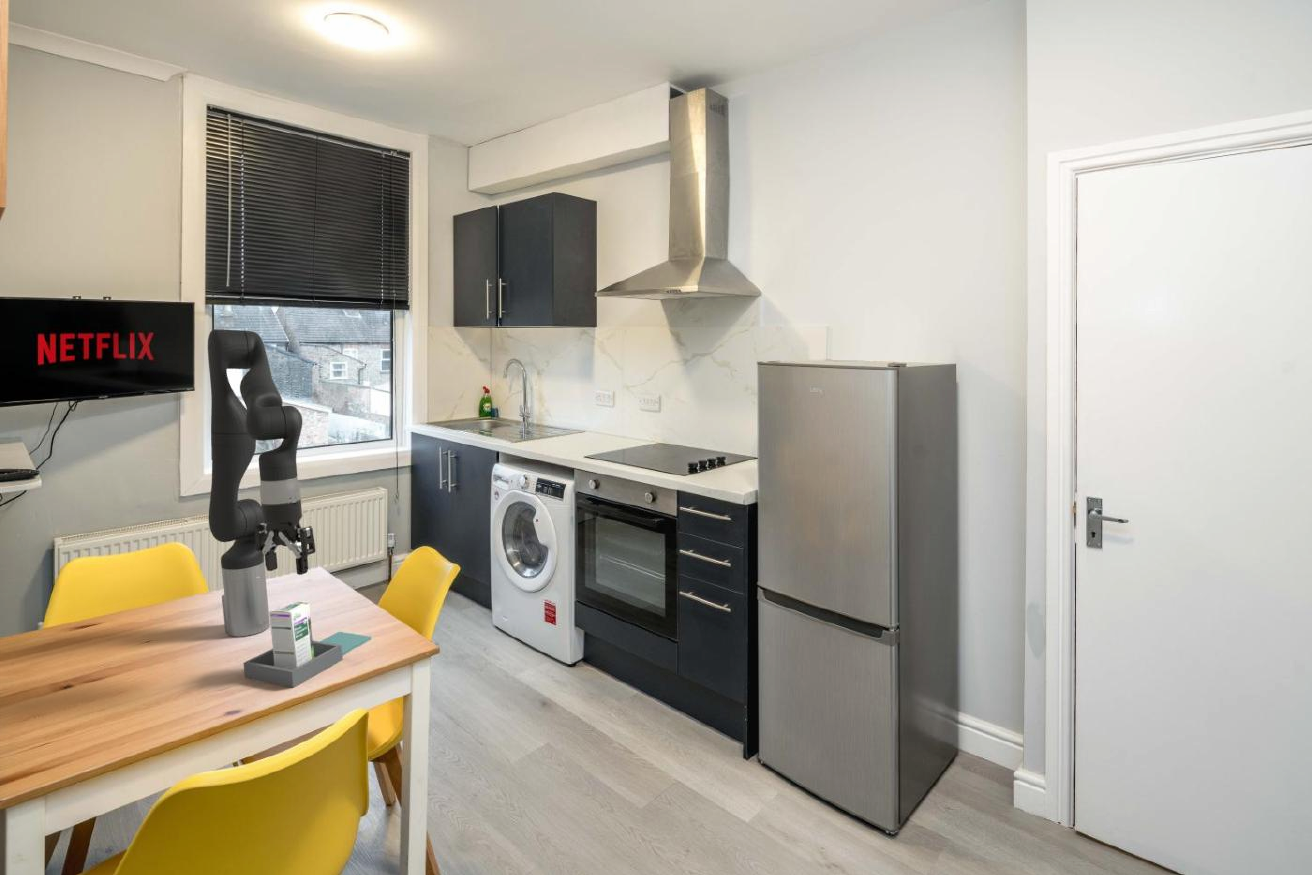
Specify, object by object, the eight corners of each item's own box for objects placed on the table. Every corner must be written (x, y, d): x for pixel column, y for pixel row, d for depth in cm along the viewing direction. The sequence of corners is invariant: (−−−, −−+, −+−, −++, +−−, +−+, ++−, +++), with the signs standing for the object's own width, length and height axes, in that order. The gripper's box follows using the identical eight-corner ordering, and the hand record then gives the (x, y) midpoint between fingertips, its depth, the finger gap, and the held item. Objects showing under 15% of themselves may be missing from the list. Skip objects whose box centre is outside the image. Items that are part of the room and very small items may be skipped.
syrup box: (297, 675, 148) (292, 611, 147) (274, 673, 150) (268, 610, 148) (315, 664, 154) (310, 602, 152) (292, 661, 155) (287, 600, 153)
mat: (306, 650, 161) (306, 648, 161) (339, 633, 170) (338, 631, 170) (340, 656, 158) (340, 654, 158) (371, 639, 167) (371, 636, 167)
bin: (244, 678, 148) (243, 662, 147) (296, 651, 160) (295, 637, 160) (293, 687, 143) (292, 671, 143) (342, 659, 156) (341, 645, 155)
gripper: (240, 500, 146) (247, 574, 148) (292, 504, 141) (298, 580, 143) (270, 493, 153) (276, 563, 155) (320, 497, 148) (326, 569, 150)
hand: (287, 571), depth 149 cm, fingers open, 8 cm apart
